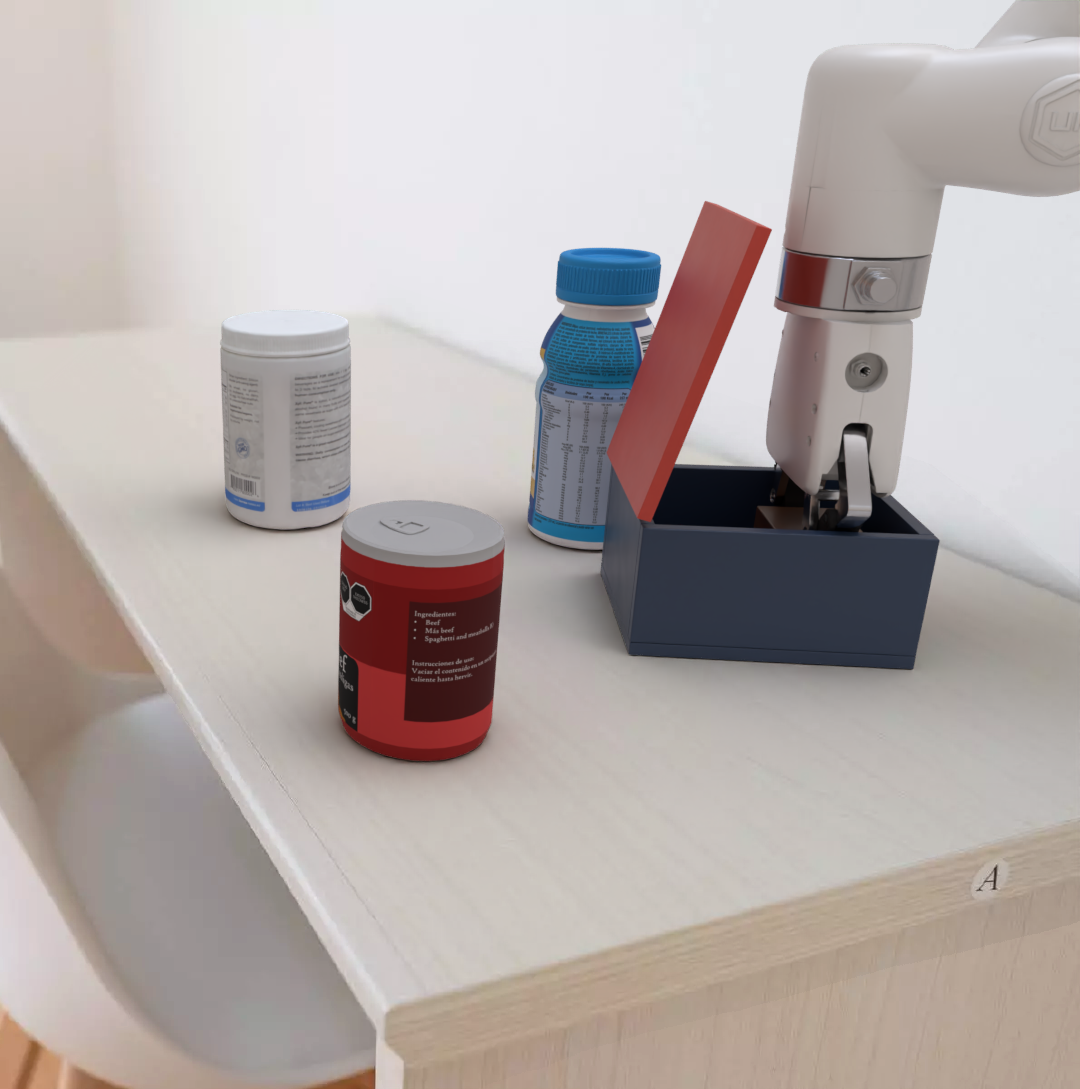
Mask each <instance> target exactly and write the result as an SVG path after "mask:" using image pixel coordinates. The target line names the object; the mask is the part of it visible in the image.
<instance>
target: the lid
mask: <svg viewBox="0 0 1080 1089" xmlns="http://www.w3.org/2000/svg"><path fill="white" fill-rule="evenodd" d="M772 230H773V229H772V228H770V227H768V226H766V225H764V224H762V223H760V222H757V221H756V220H753V219H751V218H748V217H746V216H744V215H741V214H740V213H738V212H735V211H733V210H731V209H729V208H727V207H724V206H722V205H721V204H718V203H715V202H711V201H708V200H705V201H704V202H703V205H702V207H701V210H700V212H699V215H698V217H697V220H696V222H695V225H694V227H693V230H692V232H691V236H690V238H689V240H688V243H687V245H686V248H685V251H684V253H683V254H682V255H683V256H682V258H681V260H680V263H679V266H678V268H677V270H676V274H675V276H674V279H673V281H672V284H671V286H670V289H669V291H668V294H667V297H666V298H665V302H664V304H663V306H662V309H661V312H660V315H659V317H658V319H657V322H656V325H655V326H654V327H655V330H654V332H653V335H652V337H651V340H650V343H649V345H648V348H647V350H646V353H645V355H644V358H643V360H642V363H641V366H640V368H639V371H638V373H637V376H636V378H635V381H634V383H633V386H632V389H631V391H630V394H629V396H628V399H627V401H626V404H625V407H624V409H623V412H622V414H621V417H620V419H619V422H618V424H617V427H616V430H615V432H614V435H613V437H612V440H611V442H610V445H609V448H608V450H607V455H608V457H609V459H610V461H611V464H612V466H613V468H614V470H615V472H616V474H617V476H618V478H619V481H620V483H621V485H622V487H623V489H624V491H625V493H626V495H627V498H628V500H629V502H630V504H631V506H632V508H633V510H634V512H635V515H636V517H637V518H638V519H641V520H645V521H648V522H651V520H652V518H653V516H654V513H655V511H656V508H657V506H658V504H659V501H660V499H661V496H662V494H663V492H664V489H665V487H666V484H667V482H668V479H669V477H670V475H671V472H672V470H673V467H674V465H675V464H677V460H678V459H679V458H678V457H679V456H680V453H681V450H682V448H683V446H684V443H685V441H686V439H687V436H688V434H689V431H690V429H691V426H692V424H693V422H694V420H695V417H696V414H697V412H698V409H699V407H700V405H701V403H702V400H703V397H704V395H705V392H706V390H707V388H708V385H709V384H710V381H711V378H712V375H713V373H714V372H715V369H716V366H717V364H718V361H719V359H720V356H721V354H722V351H723V349H724V347H725V345H726V342H727V340H728V338H729V334H730V333H731V330H732V327H733V325H734V323H735V321H736V318H737V315H738V313H739V310H740V308H741V306H742V304H743V301H744V298H745V296H746V293H747V291H748V289H749V287H750V284H751V282H752V279H753V277H754V274H755V272H756V269H757V267H758V266H759V265H758V264H759V263H760V260H761V258H762V256H763V253H764V251H765V248H766V245H767V243H768V241H769V238H770V236H771V234H772Z"/></svg>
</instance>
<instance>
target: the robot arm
mask: <svg viewBox="0 0 1080 1089" xmlns="http://www.w3.org/2000/svg"><path fill="white" fill-rule="evenodd" d="M791 175H792V176H791V183H790V189H789V196H788V204H787V211H786V217H785V224H784V225H785V226H784V227H785V228H784V233H783V238H782V244H781V246H782V247H781V252H780V259H779V264H778V265H779V266H778V273H777V278H776V286H775V294H774V295H775V296H774V302H773V307H774V308H776V310H778V311H781V312H784V313H786V316H785V320H784V324H783V329H782V331H781V338H780V342H779V348H778V352H777V356H776V357H777V358H776V361H775V362H776V363H775V366H774V373H773V377H772V378H773V379H772V384H771V391H770V397H769V403H768V411H767V417H766V418H767V419H766V430H765V446H766V449H767V452H768V454H769V455H770V457H771V458H772V459H773V460H774V464H773V467H774V470H776V471H775V475H774V478H773V482H772V486H771V490H770V503H771V505H779V507H803V521H802V530H814V531H840V532H859V529H860V527H861V526H862V525H863V523H864V522H865V521H866V520H867V519H868V518H869V517H870V515H871V512H872V501H871V492H872V493H873V494H874V495H875V496H877V497H880V498H886V497H888V496H890V495H891V496H892V494H893V493H894V492H895V491H896V488H897V484H898V479H899V473H900V468H901V467H900V466H901V460H902V452H903V445H904V438H905V430H906V424H907V416H908V409H909V400H910V392H911V391H910V390H911V383H912V382H911V381H912V368H913V351H914V350H913V349H914V347H913V346H914V322H913V321H912V320H915V319H918V318H920V317H921V315H922V309H923V305H924V300H925V296H926V295H925V294H926V290H927V288H926V287H927V284H928V278H929V273H930V269H931V268H930V267H931V262H932V257H933V252H934V247H935V241H936V237H937V230H938V225H939V221H940V215H941V209H942V204H943V200H944V199H943V198H944V193H945V188H946V186H951V187H961V188H968V189H976V190H983V191H990V192H995V193H1002V194H1008V195H1014V196H1015V195H1016V196H1020V197H1021V196H1022V197H1032V198H1049V197H1058V196H1059V197H1060V196H1063V195H1069V194H1073V193H1075V192H1076V193H1077V192H1080V0H1014V1H1013V3H1012V4H1011V5H1010V6H1009V8H1008V9H1007V10H1005V12H1004V13H1003V14H1002V15H1001V16H1000V18H999V19H998V20H997V21H996V22H995V23H994V25H993V26H992V27H991V28H990V29H989V30H988V31H987V33H985V35H984V36H983V37H982V38H981V39H980V41H979V42H978V43H977V44H976V45H975V46H974V47H973V48H971V47H970V48H959V49H954V48H952V47H949V46H946V45H943V44H936V43H914V42H907V43H902V42H900V43H894V42H893V43H889V42H888V43H861V44H859V43H858V44H844V45H840V46H839V45H838V46H833V47H831V48H829V49H826V50H825V51H822V53H820V54H819V55H818V56H817V57H816V58H815V59H814V61H813V62H812V64H811V66H810V68H809V70H808V73H807V77H806V81H805V87H804V93H803V99H802V107H801V114H800V120H799V126H798V134H797V141H796V148H795V155H794V161H793V169H792V174H791ZM827 480H838V481H839V490H824V488H825V484H826V481H827ZM821 501H838V502H837V503H836V504H835V508H834V509H826V511H825V512H824V513H823V515H822V516H821V517H820V519H819V508H820V502H821Z"/></svg>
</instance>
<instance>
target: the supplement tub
mask: <svg viewBox="0 0 1080 1089" xmlns="http://www.w3.org/2000/svg"><path fill="white" fill-rule="evenodd" d="M220 332H221V339H220V342H219V345H220V350H219V351H220V354H219V355H220V384H221V385H220V386H221V411H222V415H221V416H222V440H223V441H222V442H223V467H224V468H223V469H224V470H223V471H224V494H225V506H226V509H227V511H228V512H229V514H230V515H231V516H232V517H233V518H235V519H236V520H238V521H240V522H242V523H244V524H248V525H250V526H253V527H257V528H263V529H270V530H285V531H286V530H299V529H304V528H316V527H320V526H324V525H327V524H330V523H332V522H334V521H336V520H338V519H340V518H341V517H342V516H343V515H345V513H346V512H347V511H348V509H349V507H350V504H351V484H352V483H351V481H352V480H351V478H352V477H351V475H352V474H351V469H352V467H351V466H352V464H351V462H352V461H351V460H352V456H351V455H352V454H351V453H352V452H351V450H352V449H351V448H352V447H351V446H352V445H351V444H352V442H351V439H352V436H351V435H352V405H351V404H352V358H351V357H352V347H351V338H350V334H349V333H350V324H349V320H348V319H347V318H346V317H345V316H342V315H340V314H337V313H333V312H327V311H321V310H312V309H311V310H310V309H309V310H308V309H272V310H271V309H269V310H259V311H251V312H245V313H240V314H235V315H233V316H230V317H227V318H225V319H224V320H223V321H222V322H221V331H220Z"/></svg>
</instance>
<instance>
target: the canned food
mask: <svg viewBox="0 0 1080 1089" xmlns="http://www.w3.org/2000/svg"><path fill="white" fill-rule="evenodd" d="M505 546H506V540H505V529H504V526H503V525H502V524H501V523H500V522H499V521H498V520H497V519H495V518H494V517H492V516H490V515H488V514H487V513H484V512H481V511H479V510H477V509H473V508H471V507H467V506H464V505H459V504H455V503H449V502H444V501H443V502H442V501H435V500H424V499H423V500H418V499H417V500H416V499H407V500H406V499H405V500H390V501H382V502H381V501H380V502H377V503H373V504H368V505H365V506H362V507H359V508H357V509H355V510H353V511H350V512H349V513H348V514H347V515H346V516H345V517H344V519H343V521H342V529H341V533H340V553H339V555H340V556H339V607H338V608H339V614H338V618H339V619H338V673H337V674H338V679H337V680H338V682H337V684H338V685H337V709H338V715H339V717H340V720H341V723H342V726H343V728H344V730H345V732H346V734H347V735H348V736H349V737H350V738H351V739H352V740H353V741H355V742H356V743H357V744H359V745H361V747H364V748H366V749H368V750H370V751H371V752H374V753H377V754H379V755H382V756H385V757H389V758H393V759H398V760H404V761H411V762H412V761H413V762H436V761H445V760H449V759H455V758H458V757H461V756H464V755H466V754H468V753H470V752H472V751H474V750H475V749H477V748H478V747H479V746H481V744H482V743H483V742H484V741H485V738H486V737H487V734H488V732H489V730H490V727H491V725H492V722H493V709H494V698H495V697H494V696H495V685H496V684H495V681H496V670H497V659H498V658H497V657H498V644H499V631H500V618H501V605H502V593H503V592H502V591H503V581H504V580H503V578H504V566H505Z"/></svg>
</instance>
